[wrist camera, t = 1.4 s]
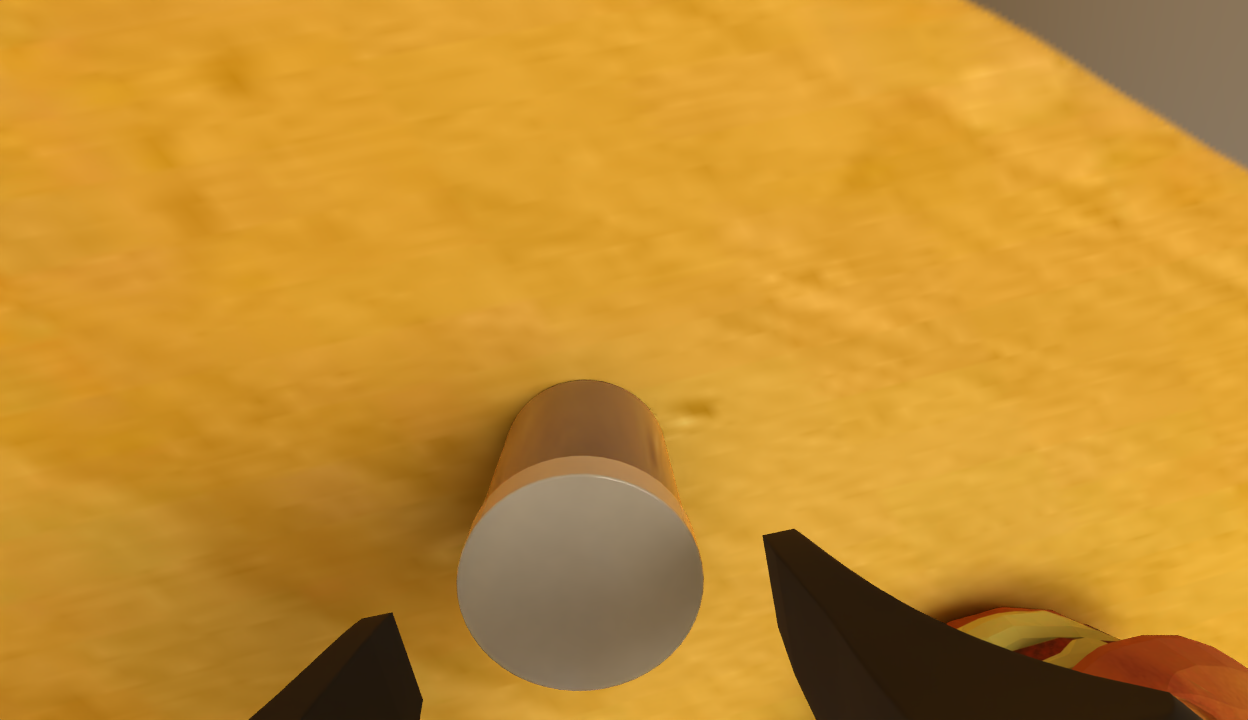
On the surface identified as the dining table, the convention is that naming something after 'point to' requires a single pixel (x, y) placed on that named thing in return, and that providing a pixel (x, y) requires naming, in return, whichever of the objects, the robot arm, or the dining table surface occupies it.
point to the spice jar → (581, 545)
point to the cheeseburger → (1121, 657)
